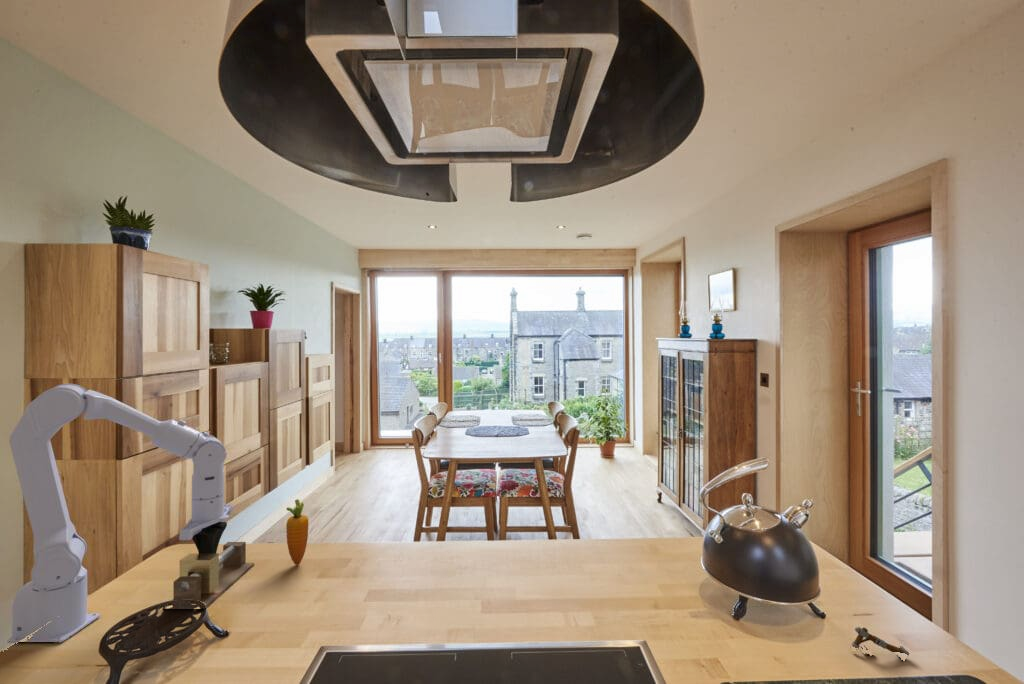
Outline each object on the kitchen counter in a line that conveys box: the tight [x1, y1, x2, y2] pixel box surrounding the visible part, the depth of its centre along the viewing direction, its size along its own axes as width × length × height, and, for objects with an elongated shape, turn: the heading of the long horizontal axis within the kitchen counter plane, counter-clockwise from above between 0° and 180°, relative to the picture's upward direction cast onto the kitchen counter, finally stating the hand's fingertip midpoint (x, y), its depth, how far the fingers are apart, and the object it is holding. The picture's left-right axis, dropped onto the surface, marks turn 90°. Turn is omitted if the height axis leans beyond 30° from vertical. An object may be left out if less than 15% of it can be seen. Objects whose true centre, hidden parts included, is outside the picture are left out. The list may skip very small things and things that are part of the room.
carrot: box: [285, 499, 309, 566], centre depth 109 cm, size 5×5×15 cm
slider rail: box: [170, 541, 255, 608], centre depth 99 cm, size 18×8×6 cm, turn 1°
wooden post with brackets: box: [851, 626, 910, 656], centre depth 78 cm, size 2×8×4 cm, turn 80°
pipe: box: [179, 546, 236, 592], centre depth 99 cm, size 18×2×2 cm, turn 1°
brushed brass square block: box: [179, 552, 220, 594], centre depth 95 cm, size 3×6×7 cm, turn 91°
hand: (207, 560), depth 98 cm, fingers closed
